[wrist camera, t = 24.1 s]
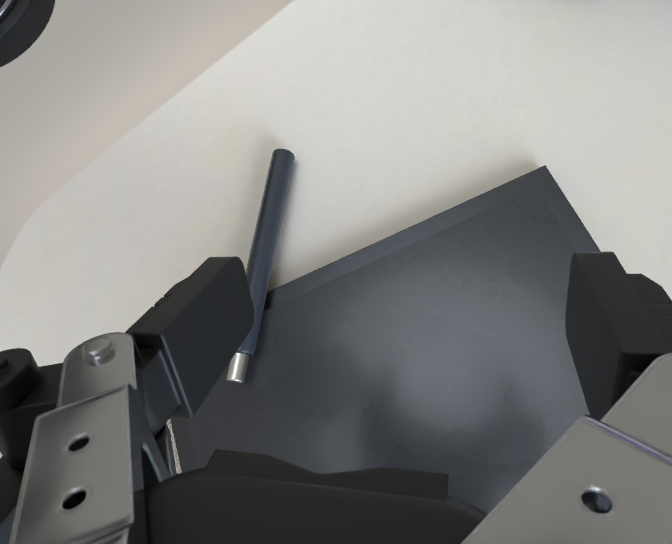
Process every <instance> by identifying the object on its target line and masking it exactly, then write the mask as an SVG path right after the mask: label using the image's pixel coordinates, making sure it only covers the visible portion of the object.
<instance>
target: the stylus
mask: <svg viewBox="0 0 672 544" xmlns="http://www.w3.org/2000/svg"><path fill="white" fill-rule="evenodd" d="M294 160H295V156H294V154H293V153H292V152H290V151H288V150H286V149H276V150H274V152H273V154H272V158H271V163H270V167H269V171H268V176H267V180H266V184H265V189H264V193H263V198H262V202H261V206H260V211H259V215H258V220H257V224H256V228H255V233H254V237H253V242H252V246H251V250H250V255H249V259H248V264H247V268H246V272H245V274H246V278H247V282H248V286H249V290H250V294H251V298H252V302H253V306H254V314H255V315H254V323H253V327H252V329H251V331H250V333H249V334H248V336H247V337H246V339H245V340H244V342H243V343H242V345H241V346H240V348H239V349H238V351H237V352H236V354H235V355H234V357H233V358H232V360H231V361H230V365H229V369H228V374H227V378H226V380H227V381H229V382H234V383H243V382H244V378H245V373H246V368H247V363H248V359H249V356H253V355H254V353H255V348H256V343H257V339H258V334H259V329H260V324H261V319H262V315H263V310H264V305H265V300H266V295H267V290H268V286H269V281H270V276H271V271H272V266H273V261H274V257H275V252H276V247H277V242H278V237H279V232H280V228H281V223H282V218H283V213H284V208H285V203H286V199H287V194H288V189H289V184H290V179H291V175H292V170H293V165H294Z"/></svg>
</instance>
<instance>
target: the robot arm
mask: <svg viewBox="0 0 672 544" xmlns="http://www.w3.org/2000/svg"><path fill="white" fill-rule="evenodd" d="M16 2H17V0H0V22H1V21H2V20H3V19H4V18H5V17H6V16H7V15H8V14H9V12H10V11H11V10H12V8H13V7H14V5H15V3H16ZM154 305H155V306H154V307H151V308H150V309H149V310H148V311H147V312H146V313H145V314H144V315H143V316H142V317H141V318H140V319H139V320H138V321H137V322H135V323H134V324H133V325H132V326H131V327H130V328H129V329H128V330H127V331H126V332H125V333H121V332H115V333H108V334H103V335H100V336H97V337H94V338H92V339H89V340H87V341H85V342H83V343H82V344H80V345H78V346H77V347H76V348H74V349H73V350H72V351H71V352H70V353H69V354H68V355H67V356H66V358H65V359H64V362H63V363H59V364H53V365H48V366H42V367H38V365H37V363H36V362H35V360H34V358H33V356H32V354H31V352H30V351H29V350H27V349H21V348H17V349H9V350H5V351H2V352H0V452H1V454H2V455H3V456H2V458H0V544H672V301H671V299H670V298H669V296H668V295H667V293H666V292H665V291H664V289H663V288H662V286H660V285H659V284H657V283H655V282H654V281H652V280H650V279H649V278H647V277H646V276H644V275H642V274H626V272H625V270H624V269H623V267H622V265H621V264H620V262H619V260H618V259H617V257H616V255H615V254H614V252H574V253H573V256H572V259H571V266H570V276H569V285H568V294H567V304H566V314H565V328H566V337H567V341H568V345H569V348H570V351H571V355H572V358H573V361H574V365H575V368H576V371H577V374H578V378H579V381H580V384H581V388H582V391H583V394H584V398H585V401H586V404H587V407H588V411H589V414H590V415H583V416H581V417H580V418H579V419H577V420H576V421H575V422H574V423H573V424H572V426H571V427H570V428H569V429H568V430H567V431H566V432H565V433H564V434H563V435H562V436H561V437H560V438H559V439H558V440H557V442H556V443H555V444H554V445H553V446H552V447H551V448H550V449H549V450H548V451H547V452H546V453H545V454H544V455H543V456H542V458H541V459H540V460H539V461H538V462H537V463H536V464H535V465H534V466H533V467H532V468H531V469H530V470H529V471H528V473H527V474H526V475H525V476H524V477H523V478H522V479H521V480H520V481H519V482H518V483H517V484H516V485H515V486H514V487H513V489H512V490H511V491H510V492H509V493H508V494H507V495H506V496H505V497H504V498H503V499H502V500H501V501H500V502H499V503H498V505H497V506H496V507H495V508H494V509H493V510H492V511H491V512H490V513H489V514H488V513H486V512H484V511H483V510H481V509H480V508H478V507H476V506H474V505H472V504H470V503H468V502H466V501H464V500H462V499H459V498H457V497H454V496H451V495H449V474H446V473H436V472H427V471H417V470H408V469H398V468H389V467H382V468H373V469H364V470H355V471H346V472H337V473H328V474H319V473H315V472H312V471H309V470H307V469H304V468H301V467H299V466H296V465H293V464H291V463H288V462H285V461H283V460H280V459H277V458H275V457H272V456H270V455H267V454H257V453H248V452H238V451H229V450H219V449H215V451H214V453H213V454H212V456H211V458H210V460H209V461H208V463H207V465H206V467H205V468H199V469H195V470H190V471H186V472H183V473H180V474H177V473H176V467H175V460H174V454H173V448H172V441H171V435H170V431H169V428H168V426H167V423H166V422H167V421H168V419H169V418H170V416H173V417H184V418H193V417H194V415H195V414H196V412H197V411H198V409H199V408H200V406H201V405H202V403H203V402H204V400H205V399H206V397H207V396H208V394H209V393H210V391H211V390H212V388H213V387H214V385H215V384H216V382H217V381H218V379H219V378H220V376H221V375H222V373H223V372H224V370H225V369H226V367H227V366H228V364H229V363H230V361H231V360H232V358H233V357H234V355H235V354H236V352H237V351H238V349H239V348H240V346H241V345H242V343H243V342H244V340H245V339H246V337H247V336H248V334H249V333H250V331H251V329H252V327H253V323H254V315H255V314H254V306H253V302H252V298H251V294H250V290H249V286H248V282H247V278H246V274H245V269H244V266H243V263H242V261H241V259H240V258H238V257H210V258H208V259H207V260H206V261H205V262H204V263H203V264H202V265H201V266H200V267H199V268H198V269H197V270H196V271H194V272H193V273H192V274H191V275H190V276H189V277H188V278H186V279H184V280H182V281H181V282H179V283H177V284H175V285H174V286H173V287H172V288H171V289H170V290H169V291H168V292H167V293H166V294H165V295H164V298H161V299H160V300H159V301H158V302H156V303H155V304H154Z"/></svg>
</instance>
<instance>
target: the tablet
mask: <svg viewBox="0 0 672 544" xmlns="http://www.w3.org/2000/svg"><path fill="white" fill-rule="evenodd" d="M574 252H601V251H600V250H599V248H598V247H597V245H596V243H595V242H594V240H593V239H592V237H591V236H590V234H589V233H588V231H587V229H586V228H585V226H584V225H583V223H582V222H581V220H580V219H579V217H578V215H577V214H576V212H575V211H574V209H573V208H572V206H571V205H570V203H569V201H568V200H567V198H566V197H565V195H564V194H563V192H562V191H561V189H560V188H559V186H558V184H557V183H556V181H555V180H554V178H553V177H552V175H551V174H550V172H549V170H548V169H547V167H546V166H543V167H540V168H538V169H536V170H534V171H532V172H529V173H527V174H525V175H523V176H521V177H519V178H516V179H514V180H512V181H510V182H508V183H505V184H503V185H501V186H499V187H497V188H494V189H492V190H490V191H488V192H486V193H484V194H481V195H479V196H477V197H475V198H473V199H470V200H468V201H466V202H464V203H462V204H459V205H457V206H455V207H453V208H451V209H449V210H446V211H444V212H442V213H440V214H438V215H435V216H433V217H431V218H429V219H427V220H425V221H422V222H420V223H418V224H416V225H414V226H411V227H409V228H407V229H405V230H403V231H400V232H398V233H396V234H394V235H392V236H390V237H387V238H385V239H383V240H381V241H379V242H376V243H374V244H372V245H370V246H368V247H365V248H363V249H361V250H359V251H357V252H355V253H352V254H350V255H348V256H346V257H344V258H341V259H339V260H337V261H335V262H333V263H330V264H328V265H326V266H324V267H322V268H320V269H317V270H315V271H313V272H311V273H309V274H306V275H304V276H302V277H300V278H298V279H296V280H293V281H291V282H289V283H287V284H285V285H282V286H280V287H278V288H276V289H274V290H271V291H269V292H267V295H266V300H265V305H264V310H263V315H262V319H261V324H260V329H259V334H258V339H257V343H256V348H255V353H254V355H253V356H249V359H248V363H247V368H246V373H245V378H244V382H243V383H234V382H229V381H227V380H226V378H227V374H228V369H229V365H230V363H229V364H228V366H227V367H226V369H225V370H224V372H223V373H222V375H221V376H220V378H219V379H218V381H217V382H216V384H215V385H214V387H213V388H212V390H211V391H210V393H209V394H208V396H207V397H206V399H205V400H204V402H203V403H202V405H201V406H200V408H199V409H198V411H197V412H196V414H195V415H194V417H193V418H184V417H173V416H170V419H171V424H172V429H173V433H174V438H175V442H176V447H177V452H178V456H179V461H180V465H181V470H182V473H183V472H186V471H190V470H195V469H199V468H205V467H206V465H207V463H208V461H209V460H210V458H211V456H212V454H213V453H214V451H215V449H219V450H229V451H238V452H248V453H257V454H267V455H270V456H272V457H275V458H277V459H280V460H283V461H285V462H288V463H291V464H293V465H296V466H299V467H301V468H304V469H307V470H309V471H312V472H315V473H319V474H328V473H337V472H346V471H355V470H364V469H373V468H382V467H389V468H398V469H408V470H417V471H427V472H436V473H446V474H449V495H451V496H454V497H457V498H459V499H462V500H464V501H466V502H468V503H470V504H472V505H474V506H476V507H478V508H480V509H481V510H483V511H484V512H486V513H488V514H489V513H490V512H491V511H492V510H493V509H494V508H495V507H496V506H497V505H498V503H499V502H500V501H501V500H502V499H503V498H504V497H505V496H506V495H507V494H508V493H509V492H510V491H511V490H512V489H513V487H514V486H515V485H516V484H517V483H518V482H519V481H520V480H521V479H522V478H523V477H524V476H525V475H526V474H527V473H528V471H529V470H530V469H531V468H532V467H533V466H534V465H535V464H536V463H537V462H538V461H539V460H540V459H541V458H542V456H543V455H544V454H545V453H546V452H547V451H548V450H549V449H550V448H551V447H552V446H553V445H554V444H555V443H556V442H557V440H558V439H559V438H560V437H561V436H562V435H563V434H564V433H565V432H566V431H567V430H568V429H569V428H570V427H571V426H572V424H573V423H574V422H575V421H576V420H577V419H579V418H580V417H581V416H583V415H590V414H589V411H588V407H587V404H586V401H585V398H584V394H583V391H582V388H581V384H580V381H579V378H578V374H577V371H576V368H575V365H574V361H573V358H572V355H571V351H570V348H569V345H568V341H567V337H566V328H565V314H566V304H567V294H568V285H569V276H570V266H571V259H572V256H573V253H574Z"/></svg>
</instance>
